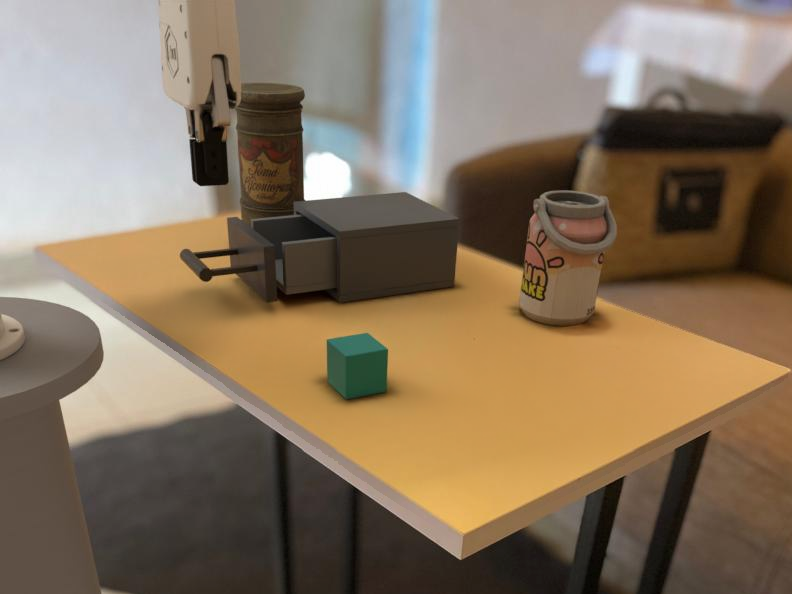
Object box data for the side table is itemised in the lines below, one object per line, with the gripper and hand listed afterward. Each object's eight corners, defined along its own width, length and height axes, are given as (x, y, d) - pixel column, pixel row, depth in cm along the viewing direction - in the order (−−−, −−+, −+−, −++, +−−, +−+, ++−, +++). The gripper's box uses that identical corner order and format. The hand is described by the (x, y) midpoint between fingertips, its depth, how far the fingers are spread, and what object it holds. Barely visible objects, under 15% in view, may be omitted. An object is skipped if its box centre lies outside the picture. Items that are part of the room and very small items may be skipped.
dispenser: (339, 303, 91) (339, 231, 86) (295, 268, 100) (293, 201, 95) (454, 286, 97) (459, 218, 92) (403, 255, 106) (405, 191, 101)
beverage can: (613, 328, 88) (636, 209, 81) (542, 335, 86) (559, 213, 79) (571, 298, 95) (589, 186, 88) (504, 303, 93) (517, 189, 86)
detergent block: (345, 400, 72) (345, 356, 70) (326, 381, 75) (326, 338, 72) (387, 391, 74) (388, 348, 71) (366, 374, 76) (367, 332, 74)
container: (243, 234, 110) (232, 79, 99) (311, 237, 110) (308, 83, 100) (234, 255, 103) (222, 90, 92) (308, 258, 103) (304, 94, 93)
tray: (208, 311, 85) (203, 253, 82) (177, 276, 93) (170, 222, 90) (381, 287, 93) (382, 233, 90) (338, 257, 101) (338, 207, 98)
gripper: (130, -45, 77) (153, 169, 87) (177, -39, 66) (196, 204, 77) (210, -40, 80) (222, 166, 90) (267, -33, 69) (273, 199, 80)
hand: (210, 183), depth 84 cm, fingers closed
